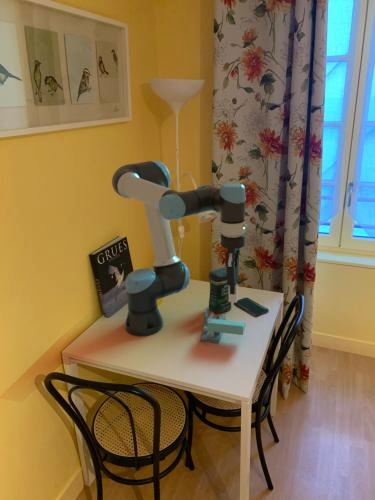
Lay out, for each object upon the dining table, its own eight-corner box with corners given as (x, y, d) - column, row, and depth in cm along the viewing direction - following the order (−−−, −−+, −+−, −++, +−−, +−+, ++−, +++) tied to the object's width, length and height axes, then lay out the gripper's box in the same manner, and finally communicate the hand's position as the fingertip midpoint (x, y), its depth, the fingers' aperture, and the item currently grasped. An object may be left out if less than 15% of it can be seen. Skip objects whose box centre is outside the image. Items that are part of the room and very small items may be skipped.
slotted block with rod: (197, 341, 152) (197, 325, 149) (207, 319, 166) (207, 304, 164) (218, 343, 150) (218, 327, 147) (226, 321, 164) (226, 306, 162)
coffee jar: (217, 316, 169) (217, 275, 162) (206, 309, 175) (204, 269, 168) (235, 308, 174) (235, 269, 167) (223, 302, 180) (222, 263, 173)
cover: (203, 330, 149) (203, 322, 148) (208, 320, 155) (207, 312, 154) (242, 335, 145) (243, 326, 144) (245, 325, 151) (245, 316, 150)
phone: (246, 297, 182) (269, 310, 170) (246, 299, 182) (269, 312, 171) (232, 302, 178) (255, 315, 166) (232, 304, 179) (255, 317, 167)
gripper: (241, 241, 119) (241, 311, 127) (247, 228, 130) (247, 293, 139) (216, 240, 121) (218, 309, 129) (224, 227, 132) (225, 291, 141)
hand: (233, 301), depth 134 cm, fingers closed
